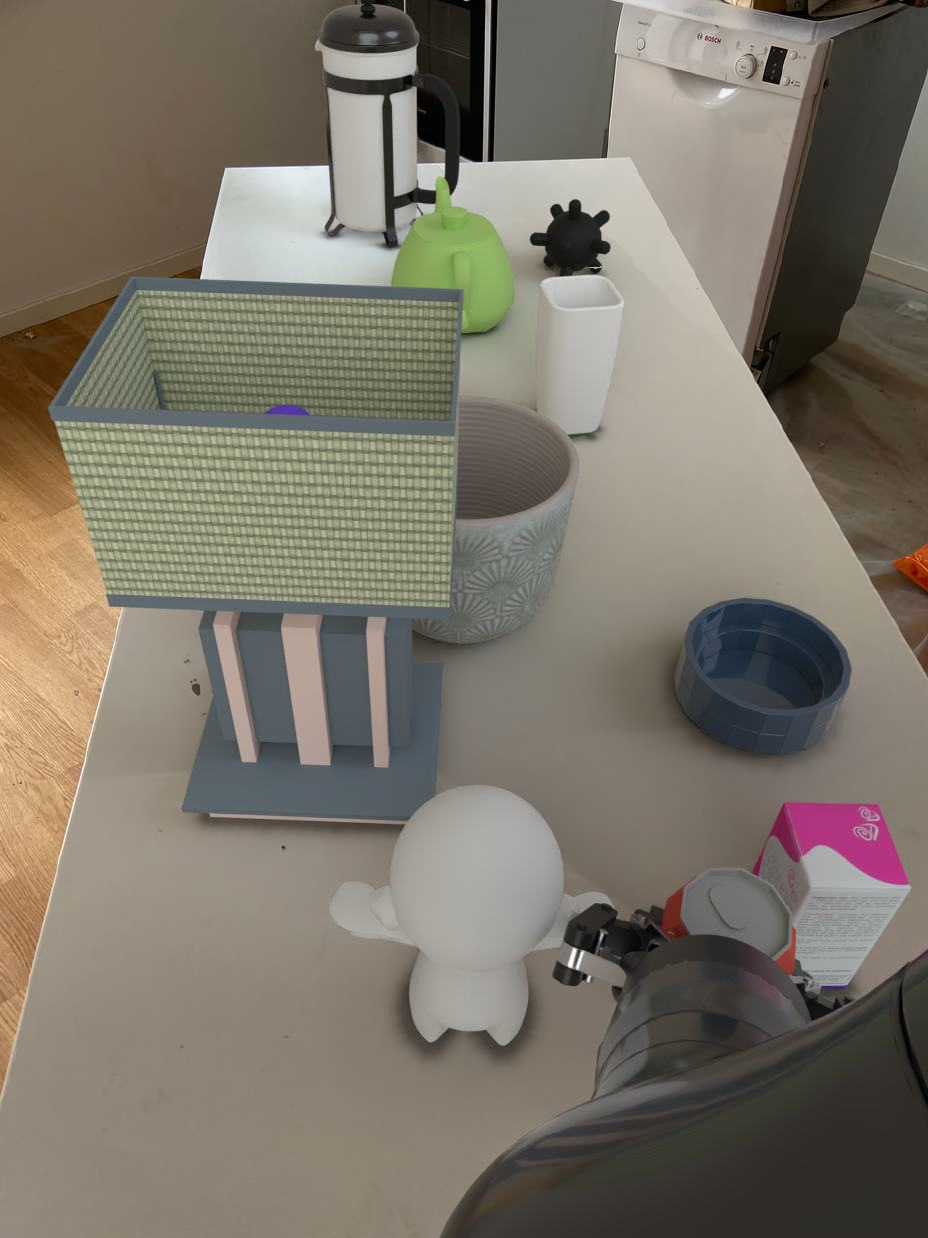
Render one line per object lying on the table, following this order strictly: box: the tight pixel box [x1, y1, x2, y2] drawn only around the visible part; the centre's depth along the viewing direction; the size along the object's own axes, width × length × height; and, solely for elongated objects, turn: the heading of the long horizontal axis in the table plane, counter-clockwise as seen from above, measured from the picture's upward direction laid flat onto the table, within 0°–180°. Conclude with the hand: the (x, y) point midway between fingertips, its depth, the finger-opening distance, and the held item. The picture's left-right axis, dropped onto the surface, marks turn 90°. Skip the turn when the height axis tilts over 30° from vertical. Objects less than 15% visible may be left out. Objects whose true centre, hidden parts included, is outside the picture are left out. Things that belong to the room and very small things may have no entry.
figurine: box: [328, 784, 619, 1047], centre depth 50 cm, size 16×8×20 cm, turn 88°
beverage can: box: [660, 867, 796, 975], centre depth 49 cm, size 6×6×12 cm
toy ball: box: [529, 198, 611, 277], centre depth 128 cm, size 11×11×12 cm
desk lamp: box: [47, 276, 464, 825], centre depth 60 cm, size 18×14×33 cm
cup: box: [534, 274, 626, 437], centre depth 99 cm, size 7×7×15 cm
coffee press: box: [314, 0, 461, 248], centre depth 130 cm, size 17×16×30 cm
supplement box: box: [751, 801, 912, 990], centre depth 57 cm, size 6×6×12 cm
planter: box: [412, 395, 580, 645], centre depth 78 cm, size 17×17×15 cm
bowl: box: [673, 597, 853, 755], centre depth 74 cm, size 12×12×5 cm
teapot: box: [390, 176, 515, 334], centre depth 117 cm, size 22×15×13 cm
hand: (717, 950), depth 50 cm, fingers closed on beverage can, 6 cm apart
